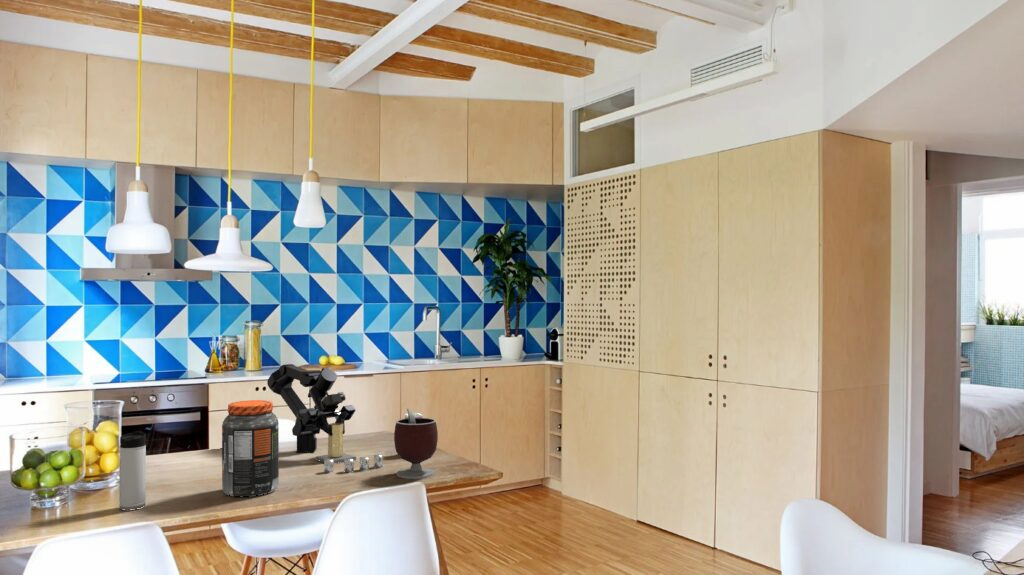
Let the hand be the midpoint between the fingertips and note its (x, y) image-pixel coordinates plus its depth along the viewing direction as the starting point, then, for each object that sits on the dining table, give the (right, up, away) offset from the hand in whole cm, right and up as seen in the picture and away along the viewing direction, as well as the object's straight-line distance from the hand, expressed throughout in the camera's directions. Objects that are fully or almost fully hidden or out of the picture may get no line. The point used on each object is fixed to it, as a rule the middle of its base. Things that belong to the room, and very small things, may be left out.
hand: (337, 434), depth 257 cm
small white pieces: (+25, -9, +11) cm, 29 cm away
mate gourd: (+29, -9, -19) cm, 36 cm away
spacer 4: (+16, -9, -10) cm, 21 cm away
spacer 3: (+12, -9, -14) cm, 20 cm away
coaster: (-1, -9, +1) cm, 9 cm away
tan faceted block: (-1, -8, +1) cm, 8 cm away
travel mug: (-42, -8, -58) cm, 72 cm away
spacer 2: (+7, -9, -16) cm, 20 cm away
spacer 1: (+1, -9, -17) cm, 19 cm away
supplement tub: (-16, -9, -41) cm, 45 cm away
